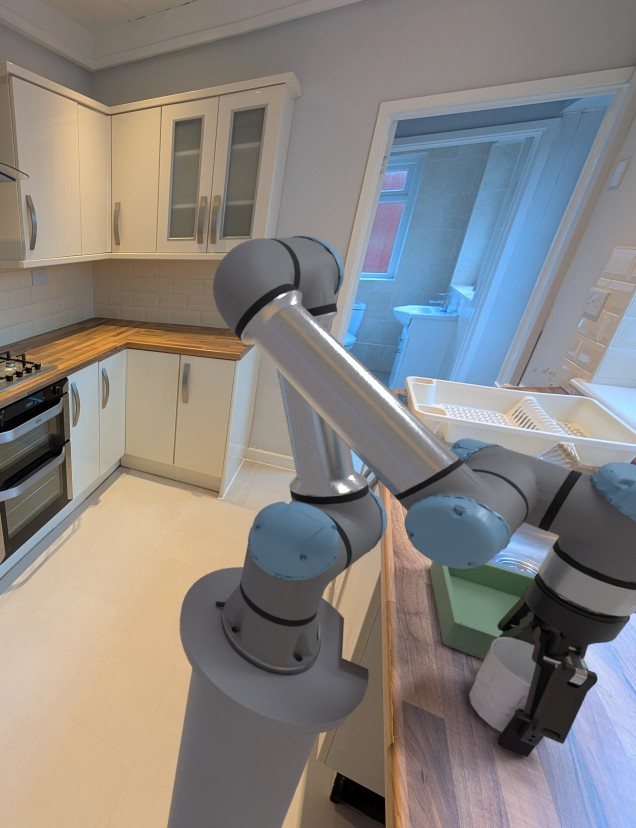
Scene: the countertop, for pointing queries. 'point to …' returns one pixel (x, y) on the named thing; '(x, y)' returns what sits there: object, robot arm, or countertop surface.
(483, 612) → the tray
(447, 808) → the countertop surface
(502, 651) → the white cup
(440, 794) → the countertop surface
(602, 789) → the countertop surface
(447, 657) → the countertop surface
